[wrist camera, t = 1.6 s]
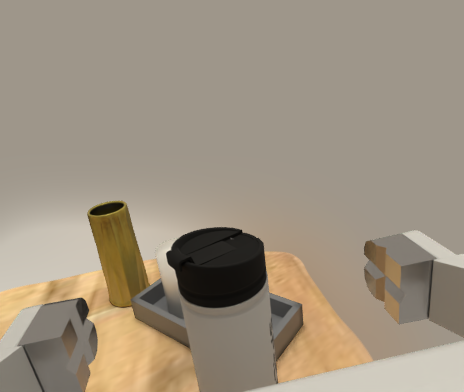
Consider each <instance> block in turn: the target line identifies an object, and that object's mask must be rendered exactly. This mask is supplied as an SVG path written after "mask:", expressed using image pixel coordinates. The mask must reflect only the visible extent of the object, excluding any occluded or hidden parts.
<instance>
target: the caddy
mask: <svg viewBox="0 0 464 392" xmlns="http://www.w3.org/2000/svg"><path fill="white" fill-rule="evenodd" d="M269 296H270V307H271V317H272V327H273V337H274V348H275V358H276V361H277V360H278V358H279V357H280V355H281V354H282V353H283V351H284V350H285V349H286V347H287V346H288V344H289V343H290V342H291V340H292V339H293V338H294V336H295V335H296V333H297V332H298V331H299V329H300V328H301V327H302V325H303V313H302V304H300V303H297V302H294V301H291V300H289V299H286V298H283V297H280V296H277V295H274V294H272V293H269ZM130 300H131V304H132V308H133V311H134V315H135V318H137V319H139V320H140V321H142V322H144V323H146V324H148V325H149V326H151V327H153V328H155V329H157V330H158V331H160V332H162V333H164V334H166V335H167V336H169V337H171V338H173V339H174V340H176V341H178V342H180V343H182V344H183V345H185V346H187V347H189V348H190V343H189V339H188V334H187V329H186V325H185V320H184V318H178V317H176V316H174V315H172V314H170V313H169V311H168V306H167V302H166V298H165V293H164V289H163V285H162V280H161V278H160V279H159V280H157V281H156V282H155V283H153V284H152V285H150V286H149V287H148V288H146V289H145V290H143V291H142V292H140V293H139V294H138V295H136V296H135V297H133V298H132V299H130Z"/></svg>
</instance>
